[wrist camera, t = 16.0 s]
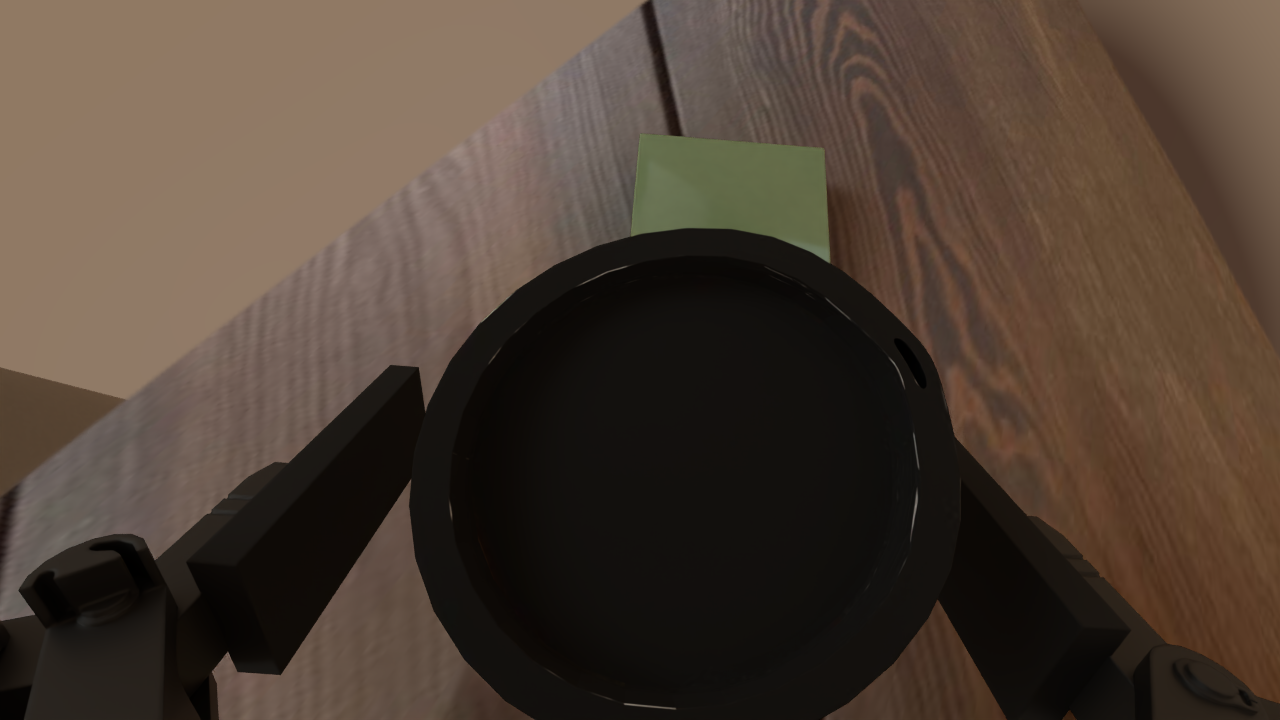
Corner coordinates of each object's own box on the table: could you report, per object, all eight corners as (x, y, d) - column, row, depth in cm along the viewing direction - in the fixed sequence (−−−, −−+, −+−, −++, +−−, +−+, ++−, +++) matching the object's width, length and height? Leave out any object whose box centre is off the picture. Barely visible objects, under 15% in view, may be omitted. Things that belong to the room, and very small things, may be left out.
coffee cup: (778, 564, 20) (1127, 646, 6) (581, 649, 19) (459, 991, 5) (697, 378, 23) (816, 134, 9) (518, 444, 22) (315, 286, 7)
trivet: (624, 323, 24) (624, 301, 21) (638, 166, 26) (639, 132, 24) (814, 338, 24) (834, 318, 21) (807, 179, 27) (825, 147, 24)
